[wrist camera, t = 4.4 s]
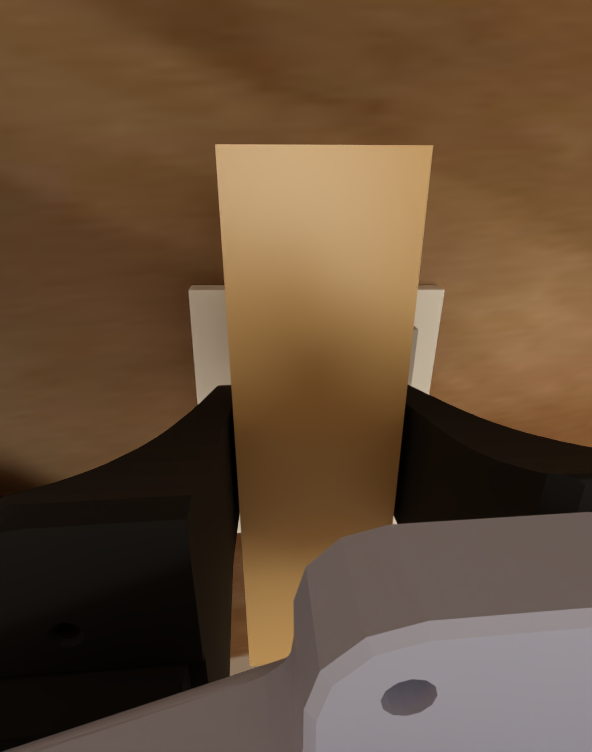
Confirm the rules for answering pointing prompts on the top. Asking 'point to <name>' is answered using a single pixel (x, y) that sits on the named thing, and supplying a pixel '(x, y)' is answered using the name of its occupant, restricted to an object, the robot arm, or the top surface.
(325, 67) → the top surface
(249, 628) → the wooden block with panels
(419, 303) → the display stand
